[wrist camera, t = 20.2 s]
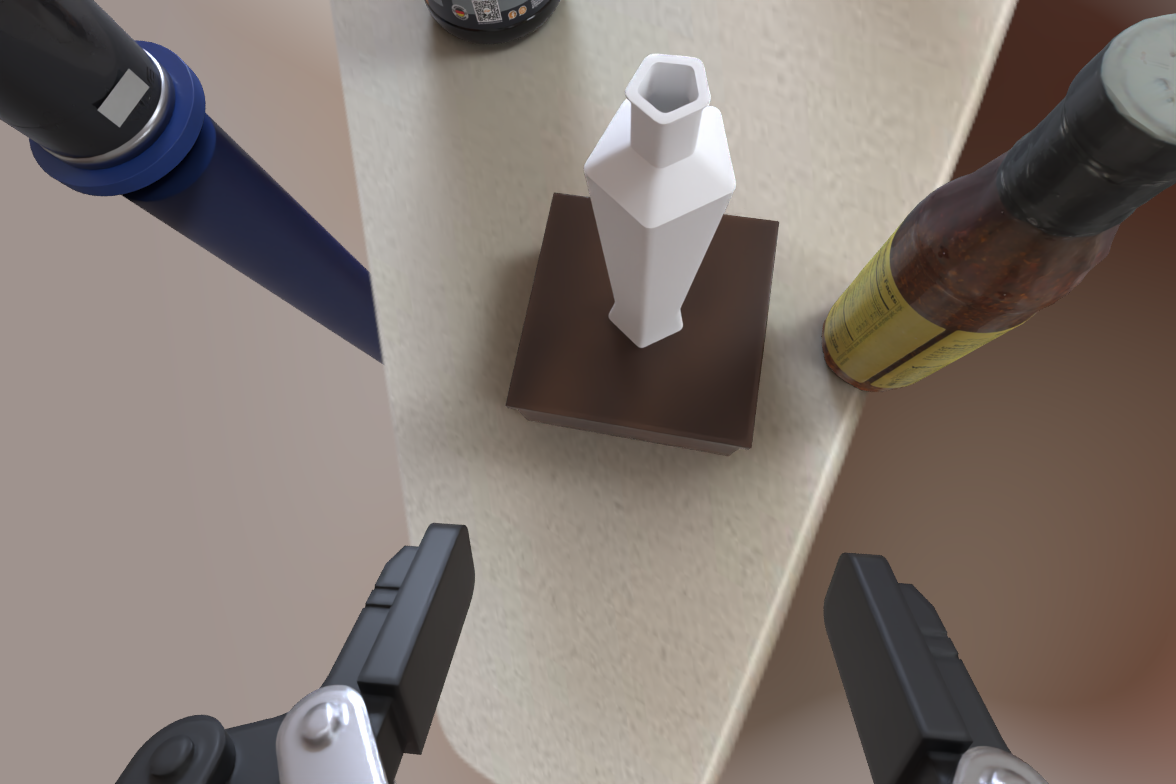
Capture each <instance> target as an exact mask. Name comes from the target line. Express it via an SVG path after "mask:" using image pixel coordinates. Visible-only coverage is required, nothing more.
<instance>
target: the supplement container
mask: <svg viewBox="0 0 1176 784" xmlns="http://www.w3.org/2000/svg"><path fill="white" fill-rule="evenodd" d="M424 1H425V3H426V6H427V8H428V10H429V11H430V13H431V15H432V16H433V18H434V19H435V20H436V21H437V23H438V24H439V25H440V26H441V27H442V28H444V29H445V30H446V31H447V32H449V33H450V34H452V35H454V36H456V37H458V38H460V39H462V40H465V41H468V42H472V43H478V44H499V43H505V42H509V41H513V40H516V39H519V38H521V37H523V36H526V35H528V34H529V33H531V32H533V31H534V30H536V29H537V28H539V27H540V26H541V25H542V24H543V23H545V22H546V20H547V19H548V18H549V17H550V16H551V15H552V14H553V12H554V11H555V9H556V8H557V6H558V4H559V2H560V0H424Z"/></svg>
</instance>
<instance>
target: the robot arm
mask: <svg viewBox="0 0 1176 784" xmlns="http://www.w3.org/2000/svg"><path fill="white" fill-rule="evenodd" d="M174 105H175V88H174V84H173V81H172V78H171V76H170V75H169V73H168V72H167V70H166V69H165V68H164V67H163V66H162V65H161V64H160V63H159V62H158V61H157V60H156V59H155V58H154V57H153V56H152V55H151V54H150V53H148V52H147V51H146V50H144V49H142V48H141V47H140V46H139V45H138V44H137V43H136V42H135V41H134V40H133V39H132V38H131V37H130V36H129V35H128V34H127V33H126V32H125V31H124V30H123V29H122V28H121V27H120V26H119V25H118V24H117V23H116V22H115V21H114V20H113V19H112V18H111V17H110V16H109V15H108V14H107V13H106V12H105V11H104V10H103V9H102V8H101V7H100V6H99V5H98V4H97V3H96V2H95V1H94V0H0V119H1V120H2V121H4V122H5V123H7V124H8V125H10V126H11V127H13V128H15V129H16V130H18V131H19V132H21V133H22V134H24V135H26V136H27V137H29V138H30V139H32V140H33V141H35V142H36V143H38V144H39V145H40V146H41V147H42V148H43V149H45V150H46V151H47V152H49V153H50V154H52V155H54V156H55V157H57V158H58V159H60V160H61V161H63V162H65V163H66V164H68V165H71V166H73V167H76V168H81V169H89V170H97V169H105V168H110V167H114V166H117V165H120V164H123V163H125V162H127V161H129V160H131V159H133V158H135V157H136V156H138V155H139V154H141V153H142V152H144V151H145V150H146V149H147V148H149V147H150V146H151V145H152V144H153V143H154V142H155V141H156V140H157V139H158V137H159V136H160V135H161V134H162V132H163V131H164V129H165V128H166V126H167V124H168V123H169V120H170V118H171V116H172V113H173V109H174ZM474 583H475V570H474V564H473V558H472V552H471V546H470V539H469V533H468V529H467V527H466V525H456V524H442V523H432V524H430V525H429V527H428V528H427V530H426V532H425V535H424V537H423V539H422V541H421V543H420V545H419V547H416V546H404V547H403V548H402V549H401V550H400V551H399V552H398V553H397V554H396V555H395V556H394V557H393V558H391V559H390V560H389V562H387V563H386V565H385V567H384V569H383V570H382V572H381V574H380V576H379V578H378V580H377V582H376V584H375V589H374V590H372V592H371V594H370V596H369V598H368V600H367V602H366V606H365V608H363V609H362V611H361V613H360V615H359V617H358V620H357V621H356V623H355V625H354V627H353V629H352V631H351V633H350V635H349V637H348V638H347V640H346V642H345V644H344V646H343V648H342V650H341V652H340V654H339V656H338V658H337V660H336V662H335V664H334V665H333V667H332V669H331V671H330V673H329V676H328V677H327V678H326V680H325V682H324V683H323V684H322V686H321V687H320V688H319V689H318V690H315V691H313V692H311V693H310V694H308V695H307V696H305V697H304V698H302V699H301V700H300V701H299V702H298V703H297V704H296V705H294V707H293V708H292V709H291V710H290V711H289V712H287V713H285V714H283V715H280V716H277V717H274V718H270V719H266V720H262V721H257V722H254V723H250V724H245V725H241V726H237V727H233V728H229V729H224V727H223V726H222V725H221V723H220V722H219V721H218V720H217V719H216V718H214V717H211V716H208V715H194V716H189V717H186V718H183V719H180V720H178V721H175V722H173V723H171V724H169V725H168V726H166V727H164V728H163V729H161V730H160V731H159V732H157V733H156V734H155V735H153V736H152V737H151V738H150V739H149V740H148V741H147V742H145V744H144V745H143V746H142V747H141V748H140V749H139V750H138V751H137V753H136V754H135V755H134V757H133V758H132V759H131V761H130V762H129V764H128V765H127V767H126V768H125V770H124V771H123V773H122V774H121V776H120V777H119V779H118V780H117V782H116V783H115V784H396V782H395V776H396V773H397V770H398V767H399V764H400V762H401V759H402V756H403V753H409V754H419V755H421V754H422V750H423V747H424V744H425V741H426V738H427V735H428V732H429V729H430V726H431V723H432V719H433V716H434V713H435V710H436V707H437V704H438V701H439V698H440V695H441V692H442V689H443V686H444V683H445V680H446V676H447V673H448V670H449V667H450V664H451V661H452V658H453V655H454V652H455V649H456V646H457V643H458V639H459V636H460V633H461V630H462V627H463V624H464V621H465V618H466V615H467V612H468V609H469V606H470V602H471V599H472V595H473V590H474ZM824 622H825V628H826V631H827V635H828V638H829V640H830V644H831V647H832V651H833V653H834V657H835V660H836V663H837V667H838V670H839V673H840V676H841V679H842V683H843V686H844V689H845V692H846V696H847V699H848V702H849V705H850V708H851V712H852V714H853V718H854V721H855V724H856V727H857V731H858V734H859V737H860V740H861V743H862V747H863V750H864V753H865V756H866V760H867V763H868V766H869V769H870V772H871V775H872V779H873V782H874V784H1048V782H1047V781H1046V780H1045V779H1044V778H1043V777H1042V776H1041V775H1040V774H1039V773H1038V772H1037V771H1036V770H1034V769H1033V768H1032V767H1031V766H1030V765H1029V764H1027V763H1026V762H1024V761H1023V760H1021V759H1020V758H1018V757H1016V756H1014V755H1013V754H1012V753H1011V751H1010V750H1009V749H1008V747H1007V745H1006V744H1005V742H1004V740H1003V739H1002V737H1001V735H1000V733H999V731H998V729H997V727H996V725H995V723H994V721H993V719H992V718H991V716H990V714H989V712H988V710H987V708H986V706H985V704H984V702H983V700H982V698H981V696H980V695H979V692H978V691H977V689H976V687H975V685H974V683H973V681H972V679H971V677H970V675H969V673H968V671H967V670H966V668H965V666H964V664H963V662H962V660H961V659H959V658H958V652H957V650H956V649H955V647H954V644H953V643H952V641H951V639H950V638H948V636H947V631H946V629H945V627H944V626H943V624H942V622H941V619H940V618H939V616H938V614H937V612H936V610H935V608H934V607H933V606H932V604H931V603H930V602H928V600H927V599H926V598H925V597H924V596H923V595H922V594H921V593H920V592H919V591H918V590H917V589H916V588H915V587H914V586H913V585H912V584H903V583H898V582H897V580H896V578H895V576H894V573H893V571H892V569H891V567H890V565H889V563H888V561H887V560H886V558H885V557H883V556H882V555H871V554H856V553H842V554H841V556H840V558H839V560H838V563H837V566H836V568H835V571H834V574H833V577H832V580H831V583H830V586H829V588H828V591H827V594H826V597H825V600H824Z"/></svg>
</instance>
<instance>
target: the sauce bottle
mask: <svg viewBox="0 0 1176 784" xmlns="http://www.w3.org/2000/svg"><path fill="white" fill-rule="evenodd" d="M1175 183H1176V14H1169V15H1164V16H1159V17H1154V18H1149V19H1144V20H1143V21H1141V22H1139V23H1136V24H1134V25H1132V26H1131V27H1129V28H1127V29H1126V30H1124V31H1123V32H1121V33H1120V34H1119V35H1117V36H1116V37H1114V38H1113V39H1112V40H1111V41H1110V42H1109V43H1108V45H1107V46H1106V47H1105V48H1104V49H1103V50H1102V51H1101V52H1099V54H1097V55H1096V56H1095V57H1094V58H1093V59H1092V60H1091V61H1090V62H1089V63H1088V64H1087V65H1086V66H1085V67H1084V68H1083V69H1082V70H1081V71H1080V72H1079V73H1078V75H1077V76H1076V77H1075V79H1074V80H1073V81H1072V83H1071V85H1070V87H1069V90H1068V92H1067V95H1066V97H1065V98H1064V99H1063V100H1062V101H1061V102H1060V103H1059V104H1058V105H1057V106H1056V107H1055V108H1054V109H1053V110H1052V111H1051V113H1049V114H1048V116H1047V117H1046V118H1045V119H1044V120H1042V121H1041V122H1040V123H1039V125H1038V126H1037V127H1036V128H1034V129H1033V130H1032V131H1031V132H1029V133H1028V134H1026V135H1025V136H1023V137H1022V138H1021V139H1020V140H1019V141H1017V142H1016V144H1015V145H1014V146H1013V147H1012V149H1010V150H1009V151H1007V152H1006V153H1004V154H1002V155H1001V156H999V157H998V158H996V159H994V160H993V161H991V162H990V163H988V164H986V165H985V166H983V167H981V168H980V169H978V170H977V171H975V172H973V173H972V174H969V175H966V176H962V177H959V178H957V179H955V180H952V181H950V182H948V183H946V184H945V185H943V186H941V187H940V188H938V189H936V190H935V191H933V192H932V193H931V194H929V195H928V196H927V197H926V198H925V199H924V200H922V201H921V202H920V203H919V204H918V205H917V206H916V207H915V208H914V209H913V210H912V211H911V212H910V214H909V215H908V216H907V217H906V218H905V220H904V221H903V222H902V223H901V225H900V226H899V227H898V228H897V229H896V230H895V232H894V233H893V234H892V235H891V236H890V238H889V239H888V240H887V241H886V243H885V244H884V245H883V246H882V247H881V249H880V250H879V251H878V252H877V253H876V254H875V255H874V257H873V258H872V259H871V260H870V261H869V262H868V264H867V265H866V266H865V267H864V268H863V270H862V271H861V272H860V273H859V275H858V276H857V277H856V278H855V280H854V281H853V282H852V283H851V285H850V286H849V287H848V288H847V289H846V291H845V292H844V293H843V294H842V295H841V296H840V298H839V299H838V300H837V301H836V303H835V304H834V305H833V307H832V308H831V310H830V312H829V314H828V317H827V318H826V320H825V322H824V324H823V330H822V336H821V337H822V348H823V353H824V358H825V361H826V363H827V365H828V366H829V367H830V368H831V369H832V370H833V371H834V372H835V374H836V375H837V376H839V377H841V378H842V379H843V380H844V381H846V382H847V383H849V384H851V385H853V386H854V387H856V388H858V389H860V390H865V391H870V392H883V391H887V390H893V389H897V388H902V387H904V386H909V385H911V384H914V383H916V382H917V381H919V380H921V379H923V378H925V377H927V376H928V375H930V374H932V373H934V372H935V371H937V370H939V369H941V368H943V367H945V366H947V365H948V364H950V363H952V362H954V361H956V360H957V359H959V358H961V357H962V356H964V355H966V354H968V353H970V352H972V351H973V350H975V349H977V348H978V347H981V346H982V345H984V344H986V343H988V342H990V341H992V340H994V339H995V338H997V337H999V336H1001V335H1002V334H1004V333H1006V332H1008V331H1009V330H1011V329H1013V328H1015V327H1017V326H1019V325H1021V324H1022V323H1024V322H1025V321H1027V320H1028V319H1030V318H1031V317H1032V316H1034V315H1035V314H1036V313H1037V312H1038V311H1040V310H1041V309H1043V308H1046V307H1047V306H1050V305H1052V304H1054V303H1055V302H1056V301H1058V300H1059V299H1061V298H1063V297H1064V296H1066V295H1067V294H1068V293H1070V291H1071V290H1072V289H1073V288H1074V287H1075V286H1076V285H1078V284H1079V283H1080V282H1081V281H1082V280H1083V278H1084V277H1085V275H1086V274H1087V273H1088V272H1089V271H1090V270H1091V269H1092V268H1093V267H1094V266H1095V265H1096V264H1098V263H1099V262H1101V261H1102V260H1103V259H1104V258H1105V257H1106V256H1107V255H1108V253H1109V251H1110V247H1111V243H1112V241H1113V238H1114V236H1115V233H1116V232H1117V229H1118V227H1119V225H1120V223H1121V222H1122V221H1123V220H1125V219H1126V218H1127V217H1129V216H1130V215H1131V214H1132V213H1133V212H1134V211H1135V209H1136V208H1137V207H1139V206H1141V205H1143V204H1144V203H1146V202H1147V201H1149V200H1150V199H1152V198H1153V197H1154V196H1156V195H1157V194H1159V193H1160V192H1162V191H1163V190H1165V189H1166V188H1168V187H1170V186H1172V185H1174V184H1175Z"/></svg>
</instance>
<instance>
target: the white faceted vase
mask: <svg viewBox="0 0 1176 784" xmlns="http://www.w3.org/2000/svg"><path fill="white" fill-rule="evenodd" d="M625 96H626V98H627V99H626V100H625V101H624V102H623V103H622V105H621V106H620V108H619V109H618V111H617V113H616V114H615V116H614V118H613V119H612V121H611V122H610V124H609V126H608V127H607V129H606V131H605V132H604V134H603V135H602V137H601V139H600V140H599V142H598V144H597V145H596V147H595V148H594V150H593V152H592V153H591V155H590V156H589V158H588V160H587V161H586V163H585V165H584V173H585V177H586V181H587V186H588V190H589V194H590V198H591V202H592V207H593V211H594V215H595V219H596V224H597V228H598V232H599V236H600V240H601V245H602V249H603V253H604V257H605V262H606V266H607V270H608V274H609V278H610V283H611V287H612V291H613V295H614V299H615V303H614V305H613V307H612V309H611V311H610V313H609V319H610V320H611V321H612V322H613V323H614V324H615V325H616V326H617V327H618V328H619V329H620V330H621V331H622V332H623V333H624V334H625V335H626V336H627V337H628V338H629V339H630V340H631V341H632V342H633V343H634V344H635V345H637V346H638V347H640V348H643V347H646V346H648V345H650V344H652V343H655V342H657V341H659V340H661V339H663V338H665V337H667V336H669V335H672V334H674V333H676V332H678V331H680V330H681V329H682V327H683V322H682V317H681V311H680V308H681V306H682V304H683V302H684V299H685V297H686V295H687V293H688V291H689V288H690V286H691V284H692V282H693V280H694V277H695V275H696V273H697V271H698V269H699V267H700V264H701V262H702V260H703V258H704V256H705V253H706V251H707V249H708V247H709V245H710V242H711V240H712V238H713V236H714V234H715V231H716V229H717V227H718V225H719V223H720V221H721V218H722V216H723V214H724V212H725V210H726V207H727V205H728V203H729V201H730V199H731V196H732V194H733V192H734V190H735V188H736V180H735V176H734V171H733V167H732V162H731V157H730V153H729V148H728V143H727V139H726V134H725V130H724V125H723V120H722V116H721V113H720V111H719V110H718V109H717V108H715V107H712V106H708V105H709V103H710V102H711V96H710V91H709V87H708V82H707V77H706V73H705V68H704V65H703V63H702V61H701V60H699V59H698V58H694V57H685V56H675V55H665V54H651V55H648V56H647V57H646V58H645V59H644V60H643V62H642V63H641V65H640V67H639V68H638V70H637V71H636V73H635V75H634V76H633V78H632V79H631V81H630V83H629V84H628V86H627V88H626V90H625Z"/></svg>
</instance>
